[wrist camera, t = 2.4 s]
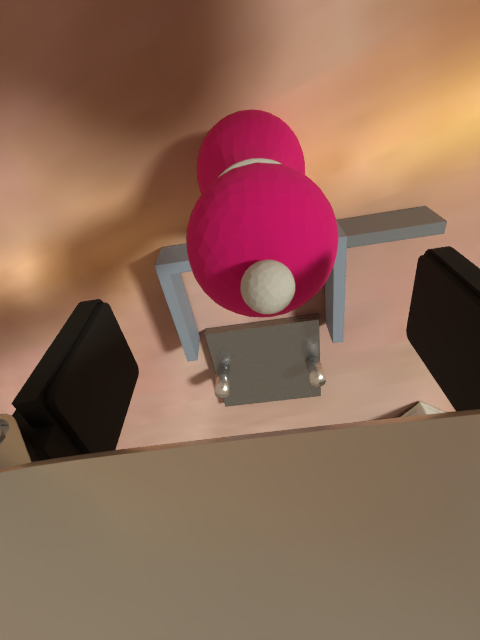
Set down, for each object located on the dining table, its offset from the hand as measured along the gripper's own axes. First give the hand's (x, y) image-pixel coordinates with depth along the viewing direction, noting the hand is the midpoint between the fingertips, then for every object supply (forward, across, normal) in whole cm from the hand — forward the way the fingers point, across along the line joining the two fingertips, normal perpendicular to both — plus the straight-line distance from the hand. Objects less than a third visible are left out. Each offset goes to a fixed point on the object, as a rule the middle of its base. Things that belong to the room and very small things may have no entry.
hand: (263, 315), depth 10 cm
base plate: (+20, 0, +21) cm, 29 cm away
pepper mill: (+20, 0, -1) cm, 20 cm away
